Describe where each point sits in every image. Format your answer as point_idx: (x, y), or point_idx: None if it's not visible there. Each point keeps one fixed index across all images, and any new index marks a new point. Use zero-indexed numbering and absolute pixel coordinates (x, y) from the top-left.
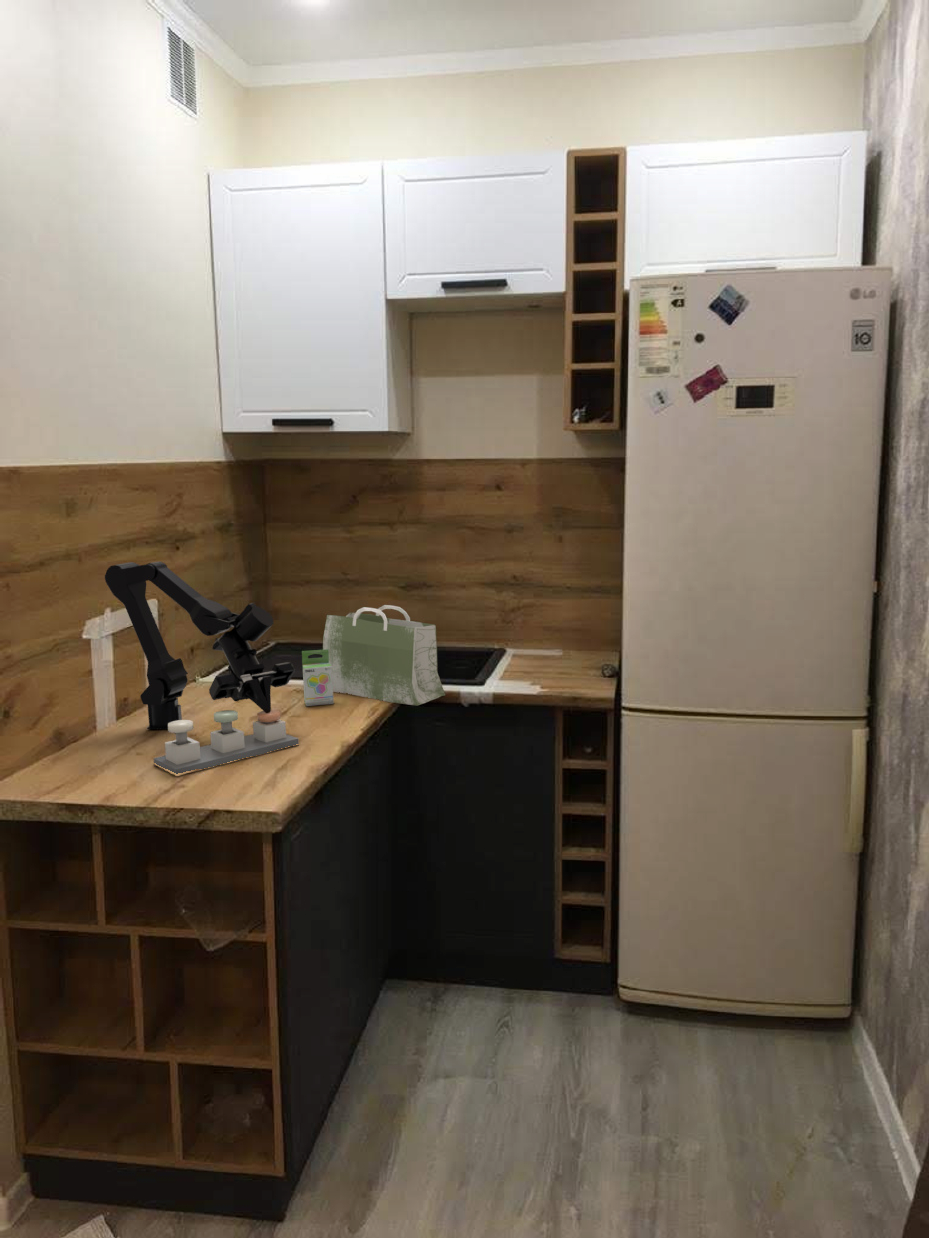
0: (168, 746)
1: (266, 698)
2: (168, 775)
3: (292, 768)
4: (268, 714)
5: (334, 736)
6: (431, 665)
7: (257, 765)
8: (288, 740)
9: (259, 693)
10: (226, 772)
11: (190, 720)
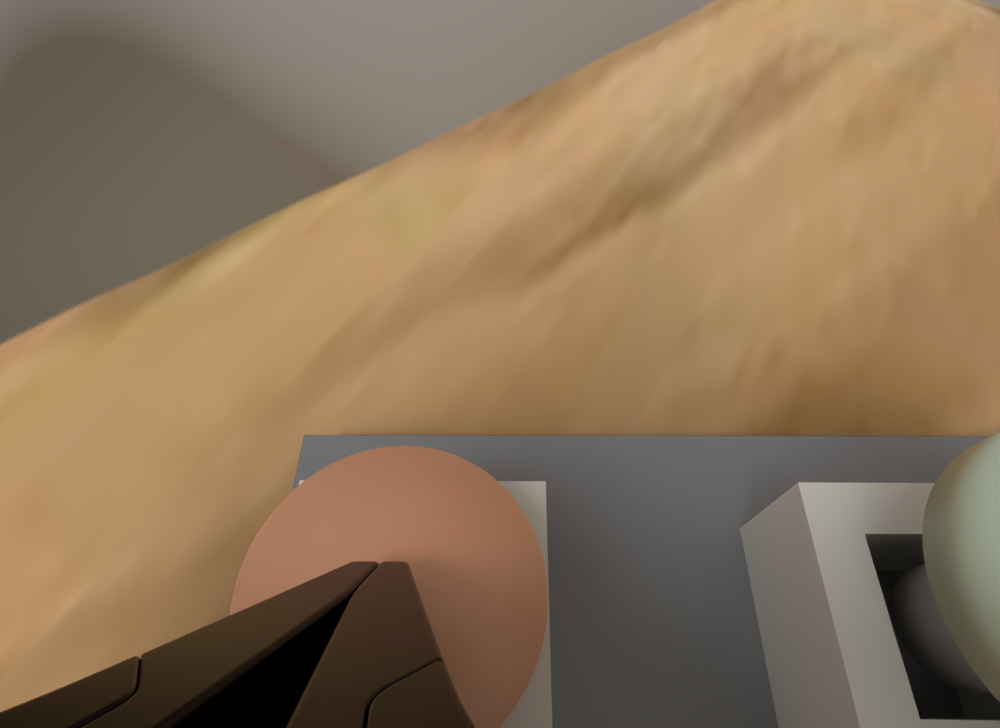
0: None
1: (302, 635)
2: None
3: (600, 169)
4: (435, 526)
5: (30, 445)
6: None
7: (730, 306)
8: (385, 444)
9: (415, 685)
10: (933, 322)
11: None
